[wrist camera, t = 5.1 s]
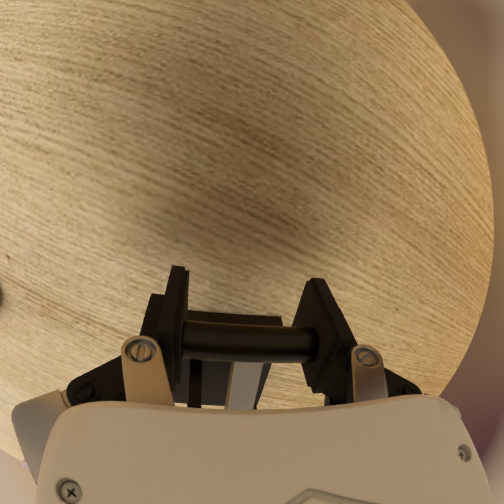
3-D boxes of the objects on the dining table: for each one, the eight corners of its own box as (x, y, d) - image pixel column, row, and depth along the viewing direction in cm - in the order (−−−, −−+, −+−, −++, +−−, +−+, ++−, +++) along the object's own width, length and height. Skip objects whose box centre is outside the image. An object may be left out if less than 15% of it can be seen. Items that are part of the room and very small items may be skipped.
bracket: (167, 308, 21) (141, 484, 9) (281, 316, 23) (323, 482, 11) (171, 393, 27) (164, 514, 15) (255, 397, 28) (272, 515, 16)
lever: (185, 306, 11) (180, 342, 9) (307, 314, 12) (326, 347, 10) (186, 479, 15) (186, 505, 13) (254, 480, 16) (259, 505, 14)
